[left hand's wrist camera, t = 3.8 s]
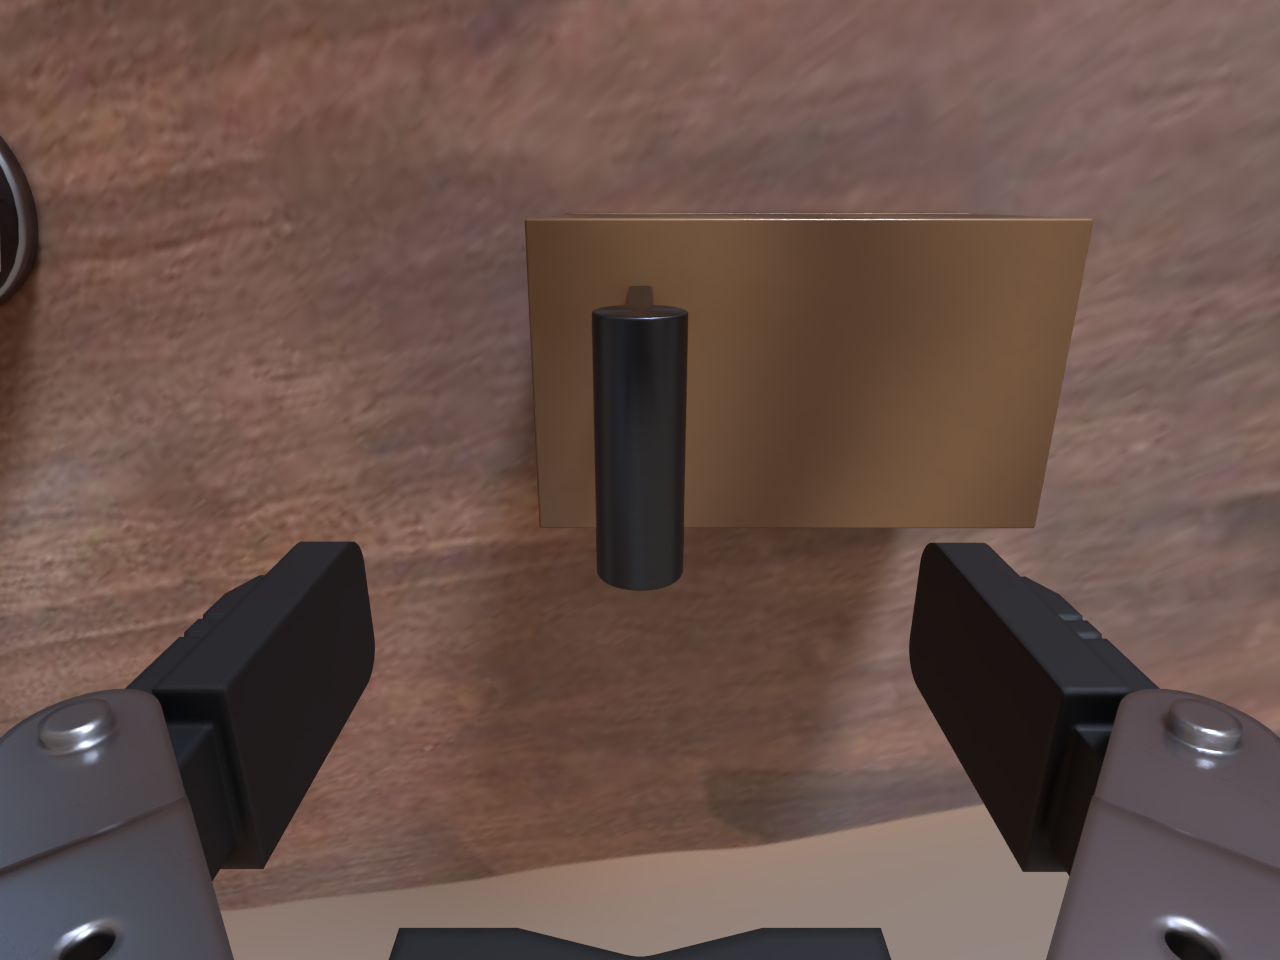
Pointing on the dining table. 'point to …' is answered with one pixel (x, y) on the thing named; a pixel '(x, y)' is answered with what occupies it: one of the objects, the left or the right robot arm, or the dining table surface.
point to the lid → (793, 374)
